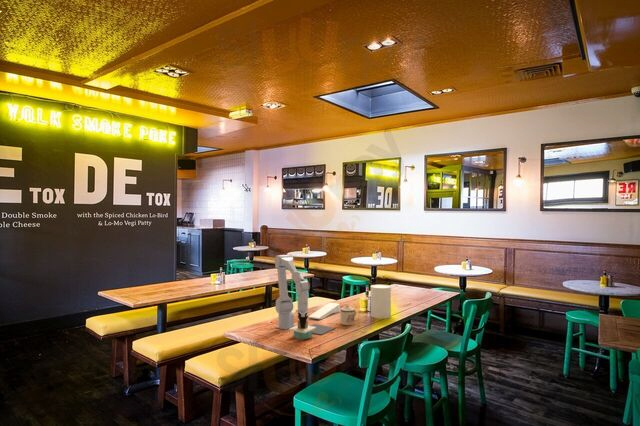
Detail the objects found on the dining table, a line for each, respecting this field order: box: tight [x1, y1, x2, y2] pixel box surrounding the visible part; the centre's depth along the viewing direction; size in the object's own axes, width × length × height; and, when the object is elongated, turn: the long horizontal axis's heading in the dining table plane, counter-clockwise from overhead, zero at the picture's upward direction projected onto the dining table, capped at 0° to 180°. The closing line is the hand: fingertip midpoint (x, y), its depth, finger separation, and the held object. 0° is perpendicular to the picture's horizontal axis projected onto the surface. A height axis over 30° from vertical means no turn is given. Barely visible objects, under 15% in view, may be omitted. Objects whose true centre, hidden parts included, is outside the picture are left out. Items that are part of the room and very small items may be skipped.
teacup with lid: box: [340, 304, 357, 326], centre depth 244 cm, size 12×9×12 cm
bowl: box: [293, 331, 313, 340], centre depth 217 cm, size 10×10×4 cm
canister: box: [370, 283, 392, 320], centre depth 261 cm, size 14×14×20 cm
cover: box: [288, 319, 316, 333], centre depth 217 cm, size 11×11×5 cm
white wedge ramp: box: [307, 302, 341, 320], centre depth 265 cm, size 10×7×28 cm
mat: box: [310, 323, 336, 336], centre depth 230 cm, size 15×15×1 cm
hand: (302, 326), depth 217 cm, fingers closed on cover, 6 cm apart
